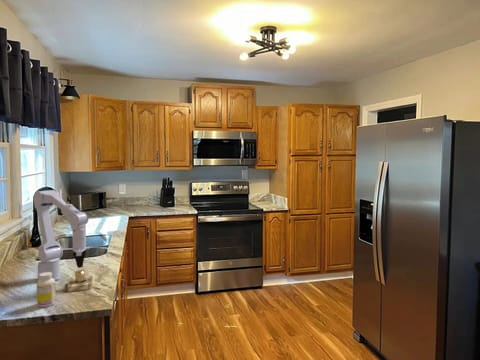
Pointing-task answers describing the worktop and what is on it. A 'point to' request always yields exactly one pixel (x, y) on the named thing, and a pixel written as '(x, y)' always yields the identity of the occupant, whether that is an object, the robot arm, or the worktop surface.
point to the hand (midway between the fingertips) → (80, 267)
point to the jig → (80, 284)
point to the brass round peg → (79, 276)
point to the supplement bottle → (46, 290)
